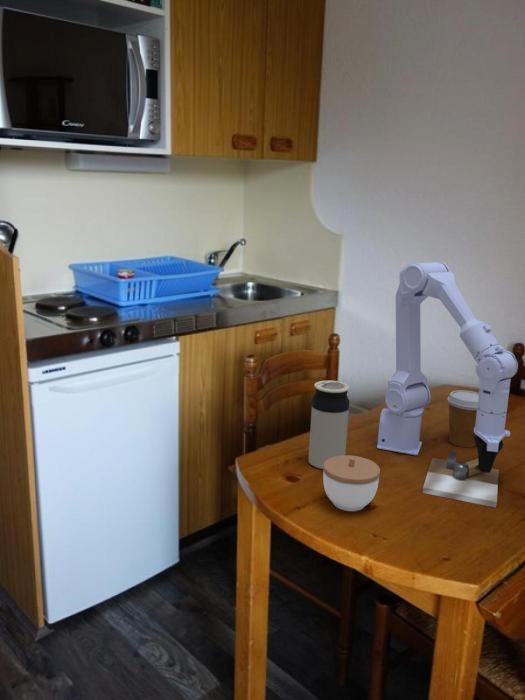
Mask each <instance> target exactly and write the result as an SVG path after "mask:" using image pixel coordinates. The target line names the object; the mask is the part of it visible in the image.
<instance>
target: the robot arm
mask: <svg viewBox="0 0 525 700" xmlns="http://www.w3.org/2000/svg"><path fill="white" fill-rule="evenodd" d="M429 297H431V298H434V299H438V300H439V301H440V302H441V304H442V305H443V306H444V308H446V310H447V311H448V312H449V314H450V316H451V317H452V318H453V319H454V321H455V322H456V324H457V325H458V326H459V327H460V332H459V338H460V340H461V341H462V342H463V344H464V345H465V347H466V349H467V350H468V352H469V353H470V355H471V356H472V358H473V359H474V361H475V362H476V365H475V372H476V376H477V377H478V379H479V383H478V386H479V387H478V393H479V397H478V406H477V415H476V424H475V427H474V433H475V434H476V435H477V436H474V442H475V444H476V445H475V447H476V450H477V459H478V464H479V470H480V472H488V473H490V471H491V469H493V467H494V463H495V461H496V458H497V456H498V454H499V453H500V452H501V450H502V449H503V447H504V443H503V442H504V441H503V439H504V438H505V437H511V431H510V430H507V429H505V428H506V421H507V419H506V418H507V413H508V403H509V395H510V387H511V381H512V379H511V378H513V377H514V376H515V375H516V374H517V372H518V367H519V363H518V360H517V358H516V356H515V354H514V353H512V352H511V351H508V350H507V349H505V348H504V347H503V345H501V344H500V343H499V341H498V340H497V338H496V336H495V335H493V333H492V329H493V328H492V327H491V326H490V323H489V324H487V323H486V322H485V321H484V320H483V321H482V320H478V319H476V317H475V316H474V314H473V312H472V310H471V308H470V306H469V305H468V304H467V301H466V300H465V298H464V297H463V294H462V293H461V291H460V290H459V288H458V286H457V284H456V279H455V274H454V273H453V272H452V271H451V270H450V267H449V266H448V265H447V263H445V262H443V261H440V260H437V261H434V262H433V261H432V262H411V263H408V264H407V265H406V266H405V267H404V268H403V269H402V270H401V271H400V272H399V285H398V288H397V291H396V293H395V366H396V367H395V372H394V373H393V375H392V376H391V377H390V378H389V380H387V390H386V392H385V396H384V400H385V405H386V407H385V408H384V407H383V408H382V410H381V413H380V416H379V417H380V419H379V424H378V425H379V426H378V435H377V444H376V445H377V446H376V449H380V450H385V451H389V452H397V453H401V454H407V455H412V456H418V455H419V453H420V450H421V448H422V445H423V444H422V443H423V442H422V441H420V437H421V426H422V419H423V418H422V417H423V412H424V410H425V407H427V406H428V405H429V403H430V402H431V392H430V388H429V386H428V378H427V376H426V375H425V374H424V373H423V372H422V367H421V365H422V364H421V363H422V362H421V305H422V303H423V302H424V301H425V300H426V299H427V298H429Z"/></svg>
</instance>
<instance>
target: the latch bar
mask: <svg viewBox="0 0 525 700" xmlns="http://www.w3.org/2000/svg"><path fill="white" fill-rule="evenodd" d="M478 473H481V472H480V470H479V464H478V458H475V459H472V460H469V461H466V462H463V461H456V462H455V464H454V471H453V476H454V477H456V478H458V479H466V478H467V476H468V477H469V476H472V475H475V474H478Z"/></svg>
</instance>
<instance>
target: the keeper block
mask: <svg viewBox="0 0 525 700" xmlns="http://www.w3.org/2000/svg"><path fill="white" fill-rule="evenodd" d="M446 460H447V465H446V469H450V470H454V464H455V462H457V461H456V460H457V452H456V451H452V450H451V451H450V450H449V451H448V455H447V459H446Z"/></svg>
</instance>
